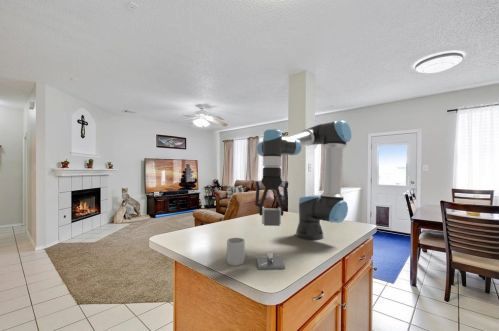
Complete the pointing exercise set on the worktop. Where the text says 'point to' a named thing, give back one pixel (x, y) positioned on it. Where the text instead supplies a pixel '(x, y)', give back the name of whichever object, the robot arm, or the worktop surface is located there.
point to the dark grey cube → (271, 217)
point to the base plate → (270, 262)
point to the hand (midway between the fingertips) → (271, 223)
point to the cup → (235, 251)
